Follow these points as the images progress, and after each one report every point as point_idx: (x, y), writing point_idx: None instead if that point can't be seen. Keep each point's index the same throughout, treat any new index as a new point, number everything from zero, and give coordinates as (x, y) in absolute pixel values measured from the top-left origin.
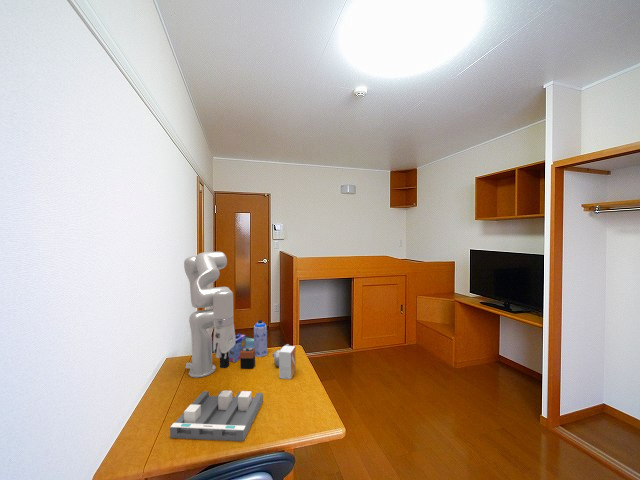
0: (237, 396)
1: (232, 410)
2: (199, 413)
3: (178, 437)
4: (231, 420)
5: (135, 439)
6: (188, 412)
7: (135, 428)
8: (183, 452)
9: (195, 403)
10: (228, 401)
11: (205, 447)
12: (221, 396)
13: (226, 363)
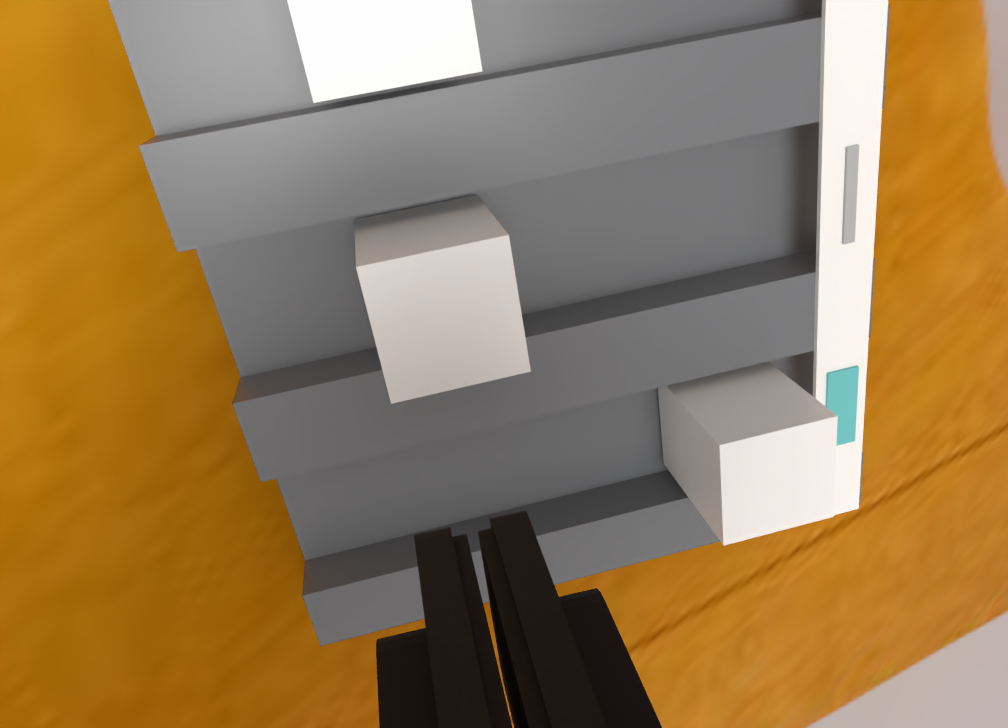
0: (273, 205)
1: (562, 88)
2: (711, 401)
3: None
4: (625, 44)
5: (831, 640)
6: (827, 472)
7: (741, 722)
8: (945, 255)
9: None
10: (483, 219)
11: (902, 112)
12: (523, 327)
13: (557, 616)
